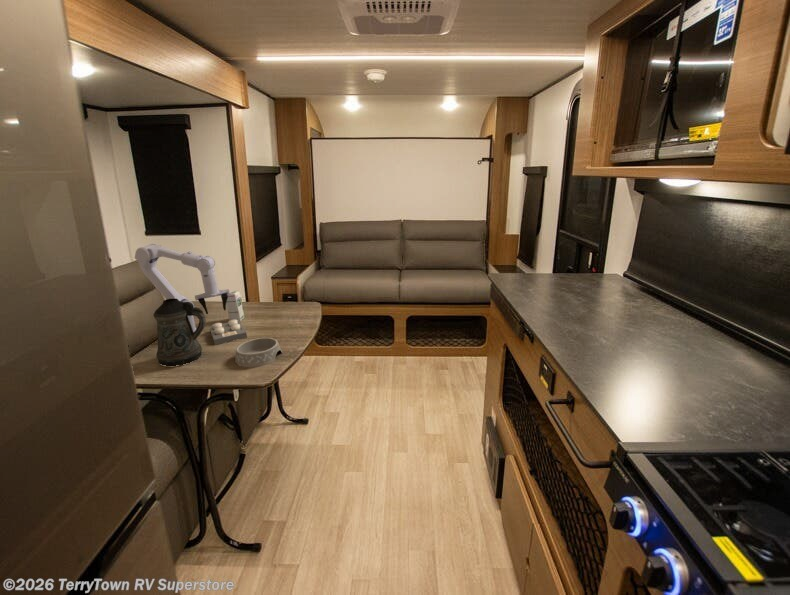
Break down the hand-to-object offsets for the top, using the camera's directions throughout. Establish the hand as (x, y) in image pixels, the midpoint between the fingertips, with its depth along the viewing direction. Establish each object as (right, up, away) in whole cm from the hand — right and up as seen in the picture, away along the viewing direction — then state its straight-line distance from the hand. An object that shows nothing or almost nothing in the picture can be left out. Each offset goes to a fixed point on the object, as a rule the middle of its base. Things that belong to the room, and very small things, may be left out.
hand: (215, 311), depth 188 cm
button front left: (+3, -10, -4) cm, 11 cm away
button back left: (0, -9, +2) cm, 9 cm away
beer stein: (-3, -18, -21) cm, 28 cm away
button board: (+6, -10, 0) cm, 12 cm away
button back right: (+6, -7, +6) cm, 11 cm away
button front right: (+10, -9, 0) cm, 13 cm away
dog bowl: (+28, -18, -24) cm, 41 cm away
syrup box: (+3, -5, +19) cm, 20 cm away
